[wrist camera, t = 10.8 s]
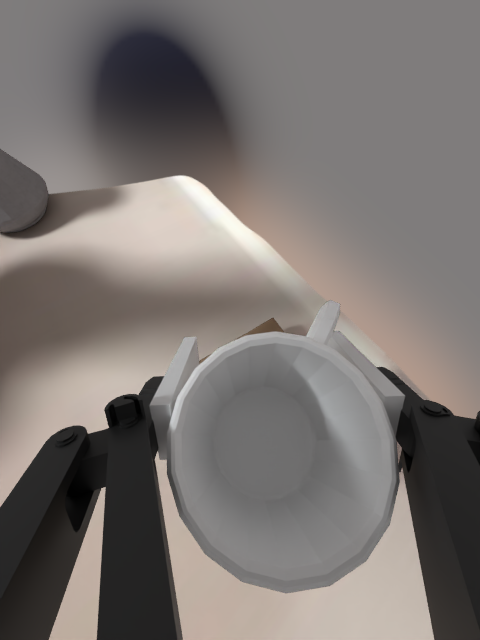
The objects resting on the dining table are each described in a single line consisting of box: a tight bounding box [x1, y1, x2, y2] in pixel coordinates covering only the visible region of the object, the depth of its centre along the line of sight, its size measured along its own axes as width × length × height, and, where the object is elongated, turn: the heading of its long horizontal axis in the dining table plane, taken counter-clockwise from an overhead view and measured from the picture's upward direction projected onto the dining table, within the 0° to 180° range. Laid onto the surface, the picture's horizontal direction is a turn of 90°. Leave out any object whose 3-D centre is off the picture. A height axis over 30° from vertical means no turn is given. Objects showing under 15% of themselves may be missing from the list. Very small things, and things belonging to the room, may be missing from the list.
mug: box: [167, 300, 400, 593], centre depth 14 cm, size 8×12×10 cm
